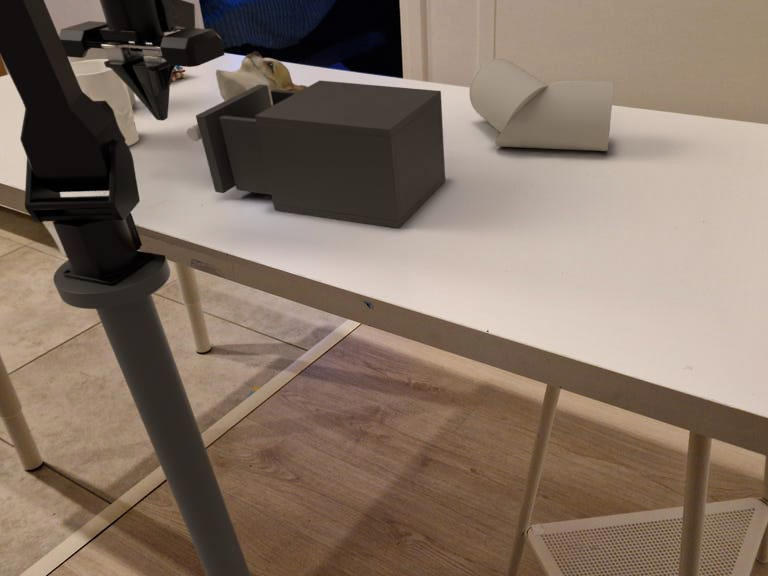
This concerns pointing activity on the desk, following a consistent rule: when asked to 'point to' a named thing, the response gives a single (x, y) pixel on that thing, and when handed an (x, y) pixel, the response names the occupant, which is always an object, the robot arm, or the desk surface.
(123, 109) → the white cup
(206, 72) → the desk surface
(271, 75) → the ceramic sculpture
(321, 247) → the desk surface
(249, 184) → the drawer
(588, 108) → the bent grey cylinder
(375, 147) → the matte charcoal box
